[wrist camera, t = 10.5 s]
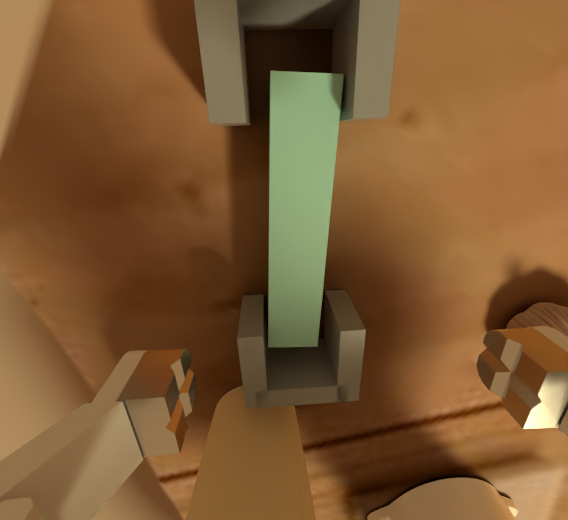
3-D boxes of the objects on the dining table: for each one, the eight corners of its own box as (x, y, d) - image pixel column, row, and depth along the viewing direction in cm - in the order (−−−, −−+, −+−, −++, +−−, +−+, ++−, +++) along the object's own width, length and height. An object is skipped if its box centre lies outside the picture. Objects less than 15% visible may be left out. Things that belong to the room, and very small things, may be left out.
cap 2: (341, 351, 25) (358, 400, 20) (249, 357, 24) (245, 409, 20) (345, 289, 22) (366, 329, 18) (242, 295, 22) (236, 338, 17)
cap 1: (210, -8, 15) (184, -72, 10) (364, -11, 15) (407, -74, 10) (224, 126, 17) (209, 124, 13) (356, 121, 17) (388, 117, 13)
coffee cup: (224, 452, 29) (199, 641, 18) (191, 389, 26) (135, 580, 15) (312, 433, 29) (340, 615, 18) (292, 366, 25) (312, 546, 14)
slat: (269, 84, 17) (270, 70, 13) (326, 86, 17) (343, 74, 13) (267, 313, 23) (268, 347, 19) (309, 313, 23) (317, 346, 20)
